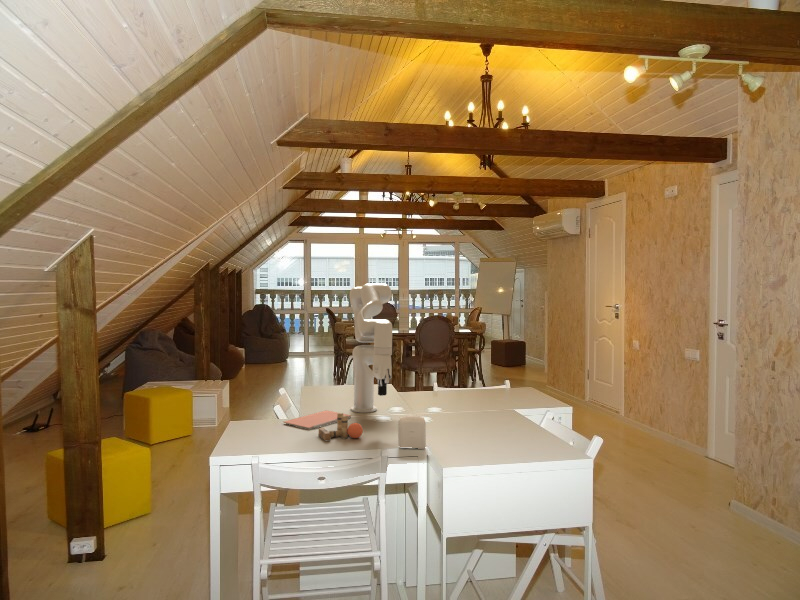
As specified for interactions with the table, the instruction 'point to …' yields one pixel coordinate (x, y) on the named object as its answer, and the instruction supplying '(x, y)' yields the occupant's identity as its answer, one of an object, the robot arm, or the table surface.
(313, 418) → the notebook
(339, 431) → the front pin
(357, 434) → the ball
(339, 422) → the rear pin
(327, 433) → the block
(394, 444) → the table surface
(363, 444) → the table surface
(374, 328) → the robot arm
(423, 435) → the photo printer
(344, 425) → the rear pin
